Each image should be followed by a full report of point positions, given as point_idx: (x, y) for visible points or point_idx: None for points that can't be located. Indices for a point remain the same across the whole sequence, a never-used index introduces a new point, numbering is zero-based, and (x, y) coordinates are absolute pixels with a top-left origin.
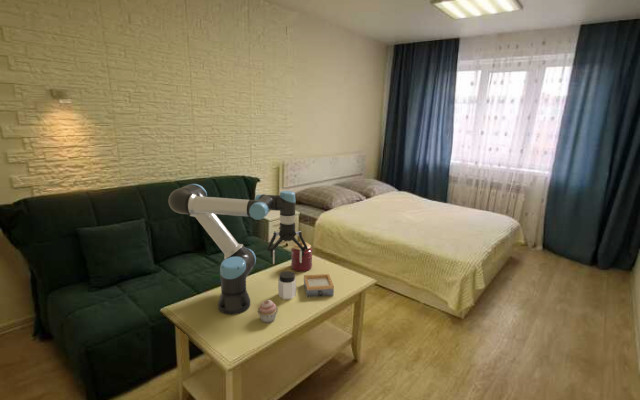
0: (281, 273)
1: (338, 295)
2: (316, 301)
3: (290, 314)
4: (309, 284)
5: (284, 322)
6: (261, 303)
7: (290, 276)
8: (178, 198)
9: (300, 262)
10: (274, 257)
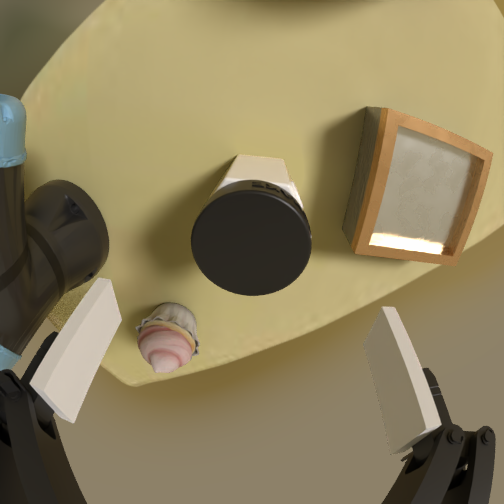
0: (208, 226)
1: None
2: (365, 264)
3: (247, 314)
4: (384, 198)
5: (224, 339)
6: (140, 350)
7: (268, 282)
8: None
9: (366, 349)
10: (95, 372)
